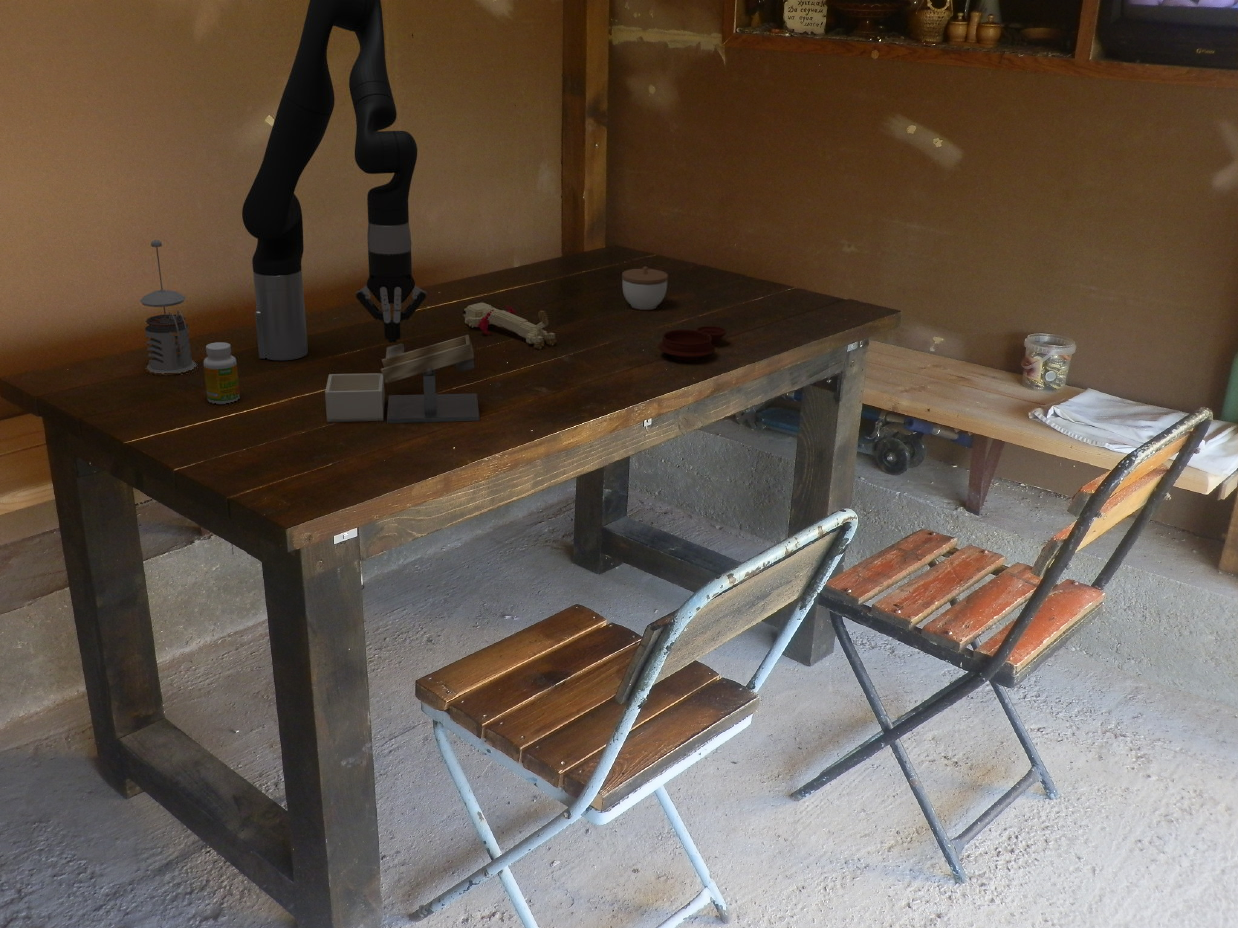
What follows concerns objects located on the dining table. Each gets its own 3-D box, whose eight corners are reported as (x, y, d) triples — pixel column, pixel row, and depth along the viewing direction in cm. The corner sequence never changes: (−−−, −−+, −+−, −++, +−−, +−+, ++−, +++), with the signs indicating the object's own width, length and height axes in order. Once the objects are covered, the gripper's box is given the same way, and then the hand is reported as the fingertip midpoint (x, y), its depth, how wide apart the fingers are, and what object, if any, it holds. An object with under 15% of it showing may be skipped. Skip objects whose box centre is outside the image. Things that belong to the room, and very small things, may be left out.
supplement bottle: (222, 407, 214) (216, 352, 210) (200, 400, 217) (194, 346, 213) (246, 398, 219) (241, 344, 215) (225, 392, 222) (219, 339, 218)
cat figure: (562, 348, 256) (483, 314, 271) (565, 309, 252) (485, 277, 267) (529, 358, 249) (449, 323, 264) (531, 318, 246) (451, 285, 260)
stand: (387, 423, 210) (385, 380, 206) (388, 399, 220) (386, 359, 217) (479, 420, 212) (478, 379, 209) (476, 397, 223) (475, 357, 220)
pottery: (647, 358, 247) (648, 338, 246) (693, 335, 263) (694, 316, 262) (697, 369, 242) (699, 348, 240) (741, 345, 258) (743, 325, 256)
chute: (388, 395, 209) (380, 372, 207) (391, 367, 223) (383, 345, 221) (477, 370, 210) (469, 347, 208) (474, 343, 224) (467, 321, 222)
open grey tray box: (327, 422, 209) (324, 392, 207) (331, 403, 218) (329, 374, 216) (383, 420, 211) (381, 391, 208) (384, 401, 219) (383, 373, 217)
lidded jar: (674, 305, 285) (676, 266, 281) (651, 315, 277) (653, 275, 273) (636, 297, 290) (637, 259, 286) (612, 307, 282) (613, 268, 278)
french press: (183, 356, 239) (169, 232, 230) (211, 371, 232) (197, 242, 222) (135, 366, 233) (118, 238, 223) (162, 382, 226) (146, 250, 216)
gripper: (349, 252, 208) (354, 348, 215) (427, 252, 210) (429, 347, 217) (352, 242, 215) (357, 335, 222) (427, 242, 217) (429, 335, 223)
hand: (393, 341), depth 219 cm, fingers closed
